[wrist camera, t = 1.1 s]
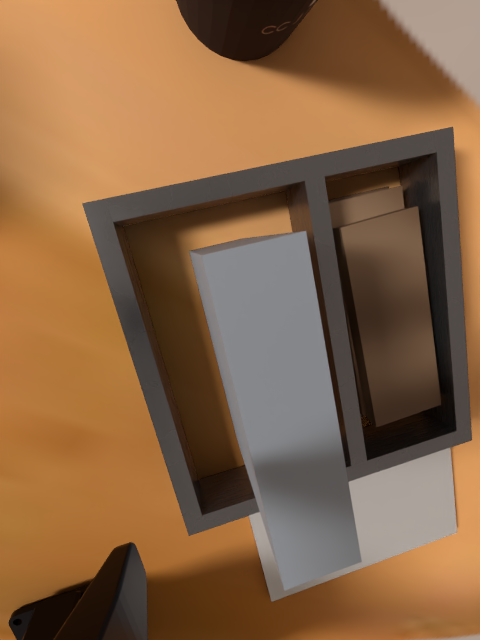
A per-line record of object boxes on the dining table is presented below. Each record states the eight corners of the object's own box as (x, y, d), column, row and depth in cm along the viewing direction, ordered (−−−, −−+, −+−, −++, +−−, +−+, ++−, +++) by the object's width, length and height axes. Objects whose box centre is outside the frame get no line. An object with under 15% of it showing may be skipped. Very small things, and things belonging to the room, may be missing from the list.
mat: (452, 527, 27) (457, 532, 26) (269, 595, 25) (271, 602, 24) (444, 439, 25) (450, 442, 24) (246, 505, 23) (247, 511, 22)
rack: (436, 417, 24) (471, 440, 21) (187, 497, 22) (189, 535, 19) (412, 144, 20) (453, 126, 17) (97, 210, 17) (82, 203, 15)
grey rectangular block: (281, 424, 22) (361, 561, 12) (236, 438, 22) (284, 590, 12) (241, 238, 19) (306, 230, 10) (189, 251, 19) (201, 255, 9)
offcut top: (428, 396, 22) (441, 404, 21) (366, 418, 22) (376, 427, 21) (404, 208, 19) (417, 206, 18) (331, 228, 19) (341, 227, 17)
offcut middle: (413, 388, 23) (424, 395, 22) (353, 407, 22) (362, 415, 21) (389, 188, 20) (401, 185, 19) (319, 205, 19) (328, 203, 18)
